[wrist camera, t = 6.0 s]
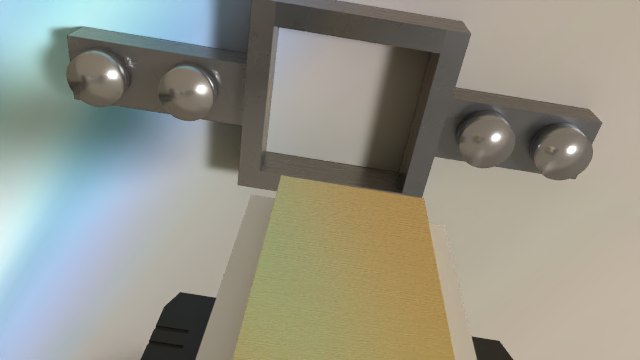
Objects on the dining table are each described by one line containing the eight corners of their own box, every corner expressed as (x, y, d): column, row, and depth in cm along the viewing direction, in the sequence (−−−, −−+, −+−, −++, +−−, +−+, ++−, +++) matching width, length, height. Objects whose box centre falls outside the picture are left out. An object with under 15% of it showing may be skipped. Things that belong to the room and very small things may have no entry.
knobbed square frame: (93, 141, 27) (70, 164, 25) (76, -43, 22) (46, -34, 20) (542, 212, 27) (558, 241, 25) (617, 47, 23) (644, 65, 21)
